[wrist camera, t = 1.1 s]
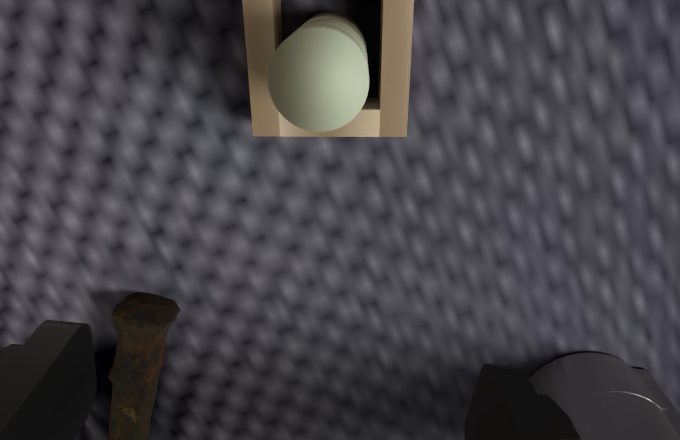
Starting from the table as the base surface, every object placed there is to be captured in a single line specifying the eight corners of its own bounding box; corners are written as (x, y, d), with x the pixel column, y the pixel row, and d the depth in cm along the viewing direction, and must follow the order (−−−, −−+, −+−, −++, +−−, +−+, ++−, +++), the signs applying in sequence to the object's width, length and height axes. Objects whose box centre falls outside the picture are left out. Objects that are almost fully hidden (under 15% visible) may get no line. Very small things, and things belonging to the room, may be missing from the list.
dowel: (366, 11, 28) (370, 27, 19) (365, 84, 30) (368, 132, 21) (294, 11, 28) (264, 27, 19) (297, 84, 30) (270, 131, 21)
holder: (410, -35, 27) (415, -37, 24) (402, 122, 30) (406, 136, 28) (251, -34, 27) (239, -35, 24) (262, 122, 31) (253, 136, 28)
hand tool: (131, 282, 37) (100, 321, 32) (185, 298, 37) (162, 339, 33) (101, 452, 45) (74, 501, 40) (146, 463, 45) (123, 513, 41)
